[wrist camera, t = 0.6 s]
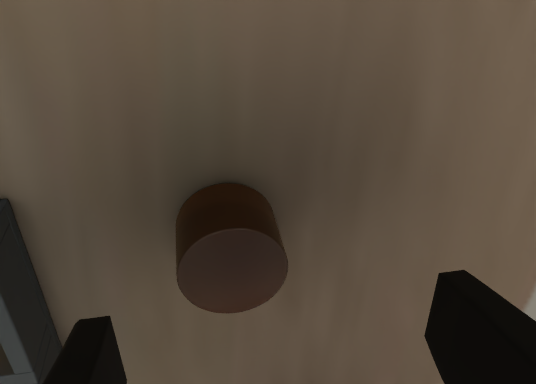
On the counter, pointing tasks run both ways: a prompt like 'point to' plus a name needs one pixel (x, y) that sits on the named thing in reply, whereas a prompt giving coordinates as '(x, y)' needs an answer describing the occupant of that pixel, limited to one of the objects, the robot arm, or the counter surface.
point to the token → (228, 249)
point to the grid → (22, 312)
